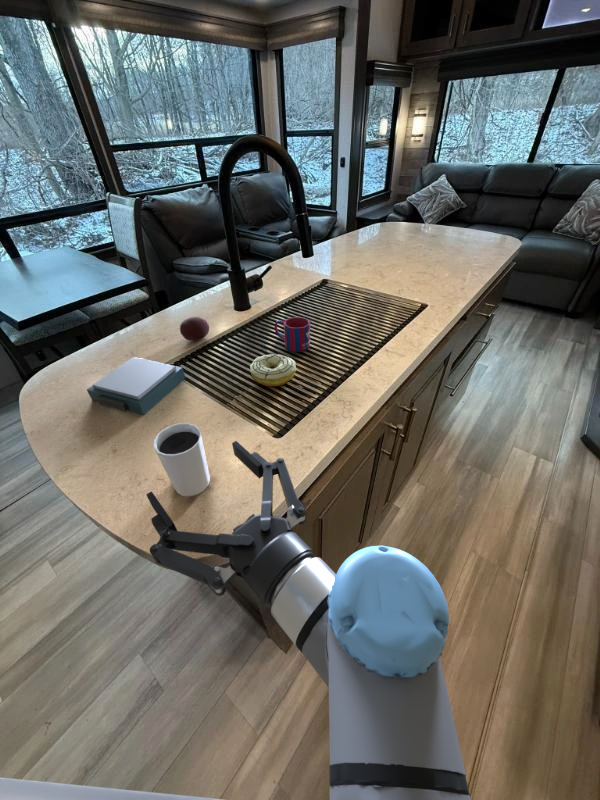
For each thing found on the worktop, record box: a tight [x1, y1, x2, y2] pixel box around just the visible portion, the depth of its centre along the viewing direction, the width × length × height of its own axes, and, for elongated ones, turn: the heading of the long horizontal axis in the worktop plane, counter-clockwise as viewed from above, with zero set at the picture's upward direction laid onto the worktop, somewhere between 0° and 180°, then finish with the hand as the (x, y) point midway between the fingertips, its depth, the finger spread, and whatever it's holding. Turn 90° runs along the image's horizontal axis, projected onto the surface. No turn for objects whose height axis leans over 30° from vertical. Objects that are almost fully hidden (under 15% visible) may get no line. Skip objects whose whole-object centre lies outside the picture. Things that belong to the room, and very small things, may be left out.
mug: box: [274, 316, 311, 353], centre depth 88 cm, size 7×10×7 cm
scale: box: [86, 356, 186, 416], centre depth 73 cm, size 15×14×4 cm
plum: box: [179, 316, 210, 342], centre depth 91 cm, size 7×8×6 cm
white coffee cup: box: [153, 422, 211, 497], centre depth 51 cm, size 7×7×10 cm
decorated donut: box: [249, 353, 297, 387], centre depth 77 cm, size 10×11×4 cm
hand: (196, 471), depth 49 cm, fingers open, 13 cm apart
